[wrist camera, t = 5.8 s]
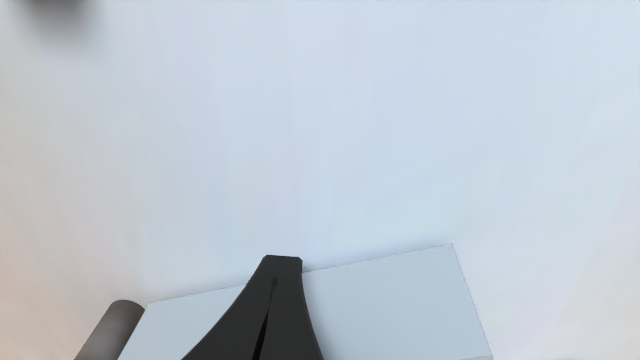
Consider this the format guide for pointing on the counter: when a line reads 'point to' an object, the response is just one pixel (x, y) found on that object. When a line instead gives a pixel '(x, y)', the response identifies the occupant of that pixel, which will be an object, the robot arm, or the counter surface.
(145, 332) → the door
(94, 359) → the door frame
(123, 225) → the counter surface
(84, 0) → the counter surface
